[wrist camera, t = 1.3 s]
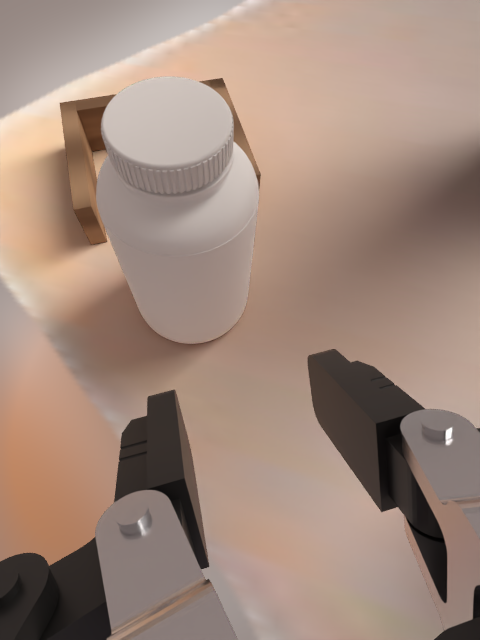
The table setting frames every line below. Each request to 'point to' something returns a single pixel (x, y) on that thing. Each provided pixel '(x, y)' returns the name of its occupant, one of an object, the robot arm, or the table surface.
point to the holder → (86, 137)
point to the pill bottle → (179, 206)
